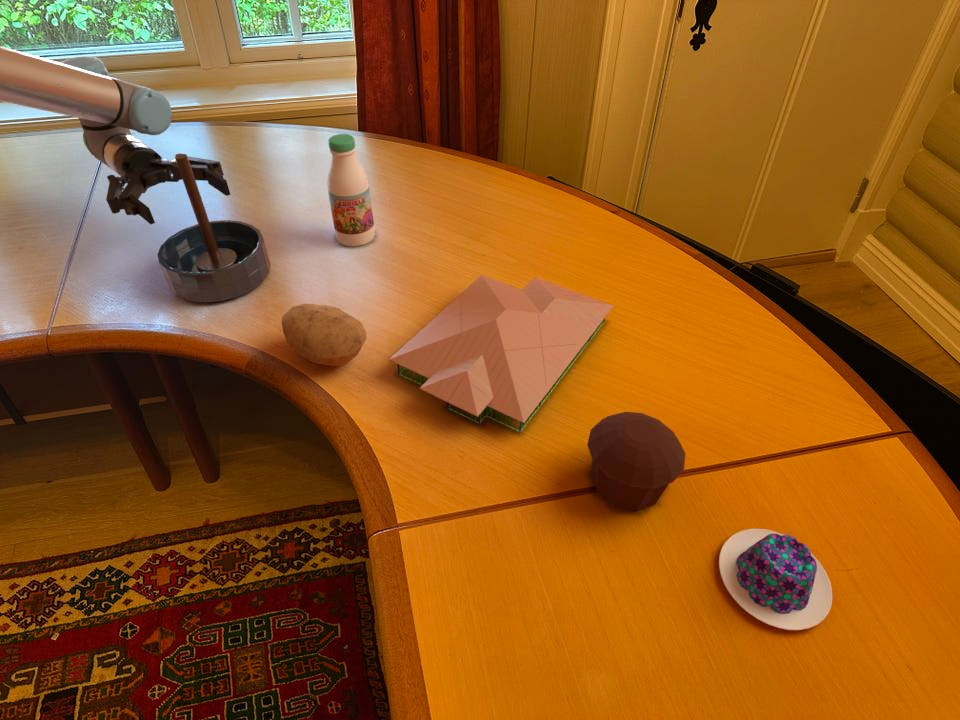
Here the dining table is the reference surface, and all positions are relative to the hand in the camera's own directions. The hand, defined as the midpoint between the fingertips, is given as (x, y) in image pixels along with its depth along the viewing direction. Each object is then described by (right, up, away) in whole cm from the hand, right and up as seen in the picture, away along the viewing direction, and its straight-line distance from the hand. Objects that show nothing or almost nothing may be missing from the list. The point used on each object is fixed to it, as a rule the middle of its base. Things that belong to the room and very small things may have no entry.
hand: (189, 201), depth 102 cm
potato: (+25, -26, -7) cm, 37 cm away
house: (+53, -26, -6) cm, 59 cm away
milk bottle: (+24, -2, +18) cm, 31 cm away
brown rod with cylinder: (+2, -11, +8) cm, 13 cm away
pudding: (+82, -52, -34) cm, 103 cm away
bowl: (+2, -11, +8) cm, 14 cm away
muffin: (+68, -42, -24) cm, 84 cm away
